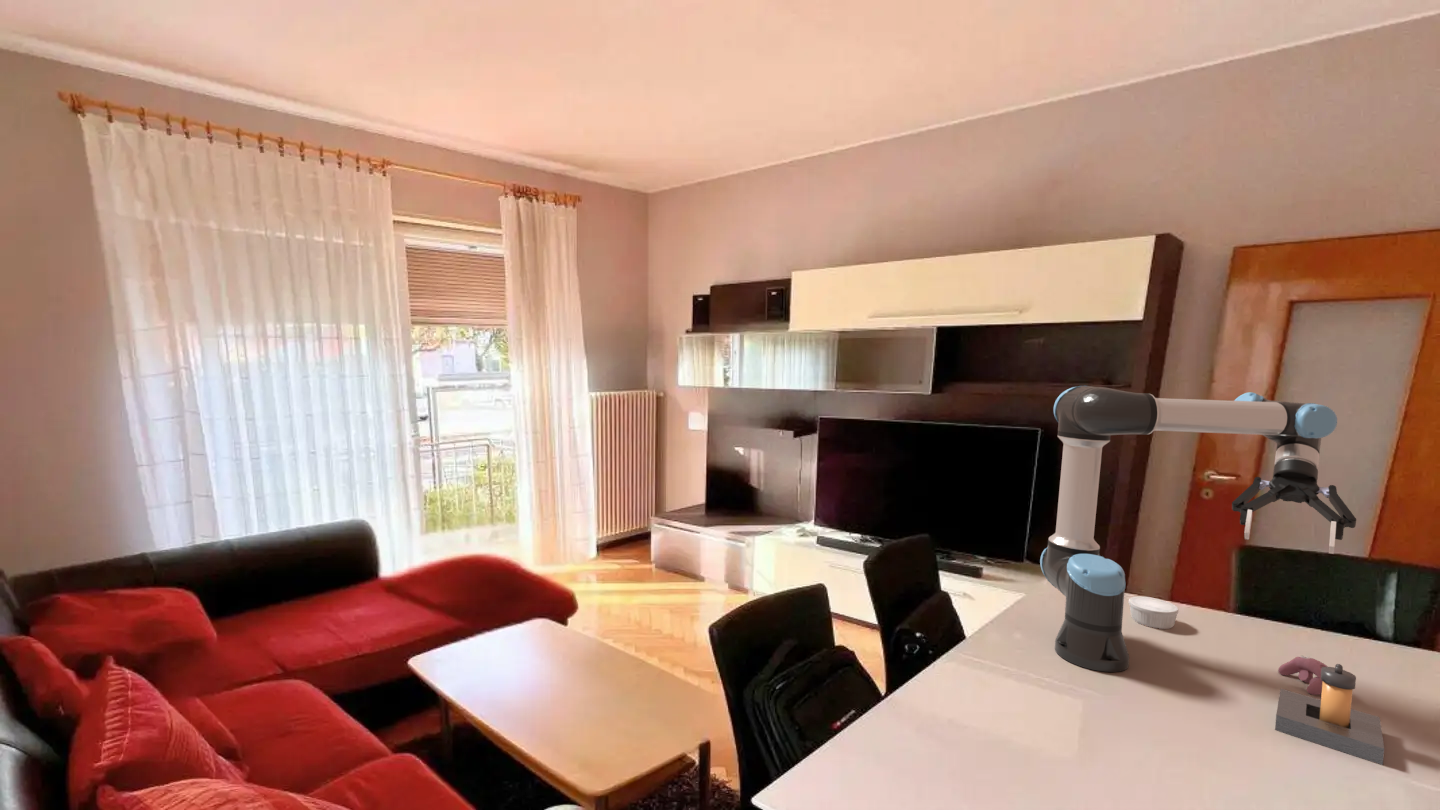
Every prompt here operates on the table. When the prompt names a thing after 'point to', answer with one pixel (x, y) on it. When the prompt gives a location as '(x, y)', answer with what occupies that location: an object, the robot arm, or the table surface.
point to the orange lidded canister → (1336, 695)
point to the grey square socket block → (1330, 727)
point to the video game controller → (1305, 672)
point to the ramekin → (1153, 612)
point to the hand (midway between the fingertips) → (1287, 543)
